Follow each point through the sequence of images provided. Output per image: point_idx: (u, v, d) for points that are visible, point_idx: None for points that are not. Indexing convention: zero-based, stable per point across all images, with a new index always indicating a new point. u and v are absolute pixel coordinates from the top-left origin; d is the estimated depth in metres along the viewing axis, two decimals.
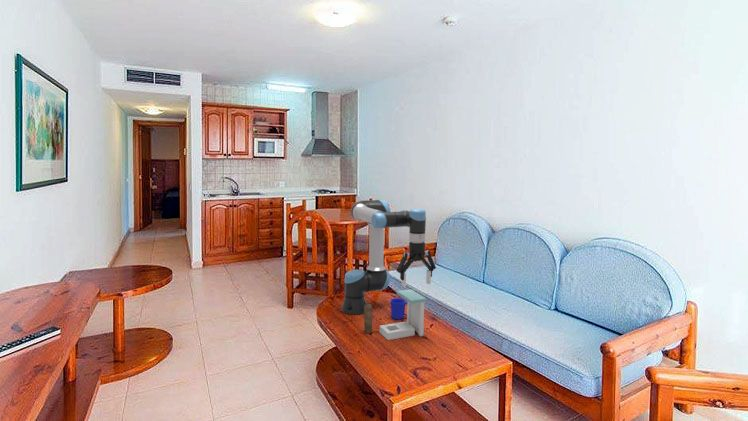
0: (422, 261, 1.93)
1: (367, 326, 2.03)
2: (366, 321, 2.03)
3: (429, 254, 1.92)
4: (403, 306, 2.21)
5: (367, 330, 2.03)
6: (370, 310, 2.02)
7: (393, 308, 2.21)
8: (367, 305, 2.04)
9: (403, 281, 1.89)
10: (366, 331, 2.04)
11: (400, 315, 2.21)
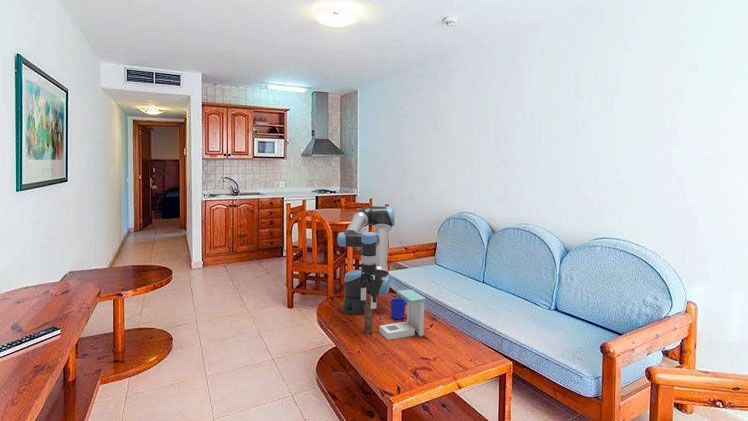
0: None
1: (367, 326, 2.03)
2: (366, 321, 2.03)
3: (371, 279, 1.96)
4: (403, 306, 2.21)
5: (367, 330, 2.03)
6: (370, 310, 2.02)
7: (393, 308, 2.21)
8: (367, 305, 2.04)
9: None
10: (366, 331, 2.04)
11: (400, 315, 2.21)
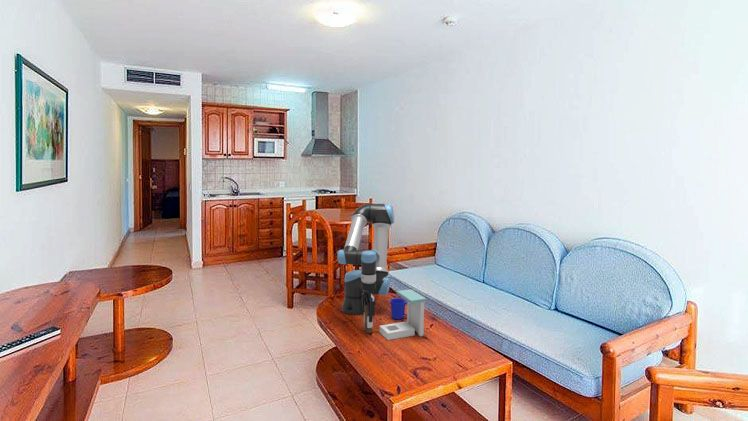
0: None
1: None
2: (366, 321, 2.03)
3: (370, 300, 1.98)
4: (403, 306, 2.21)
5: (367, 330, 2.03)
6: None
7: (393, 308, 2.21)
8: (367, 305, 2.04)
9: None
10: (366, 331, 2.04)
11: (400, 315, 2.21)
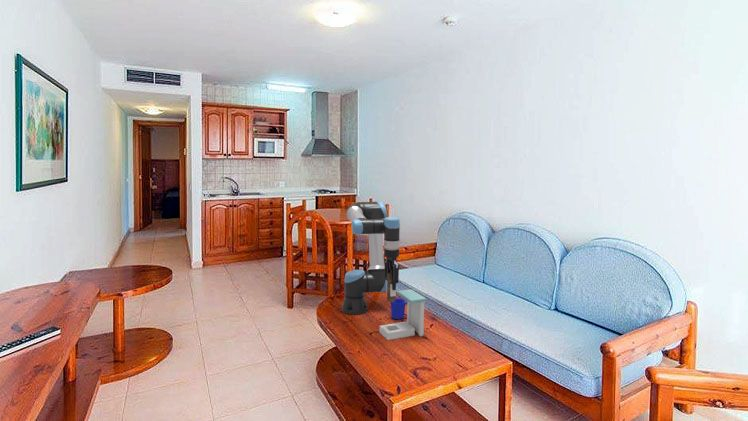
0: None
1: None
2: (389, 289, 1.97)
3: (394, 267, 1.92)
4: (403, 306, 2.21)
5: (390, 299, 1.98)
6: None
7: (393, 308, 2.21)
8: (390, 273, 1.98)
9: None
10: (389, 300, 1.98)
11: (400, 315, 2.21)
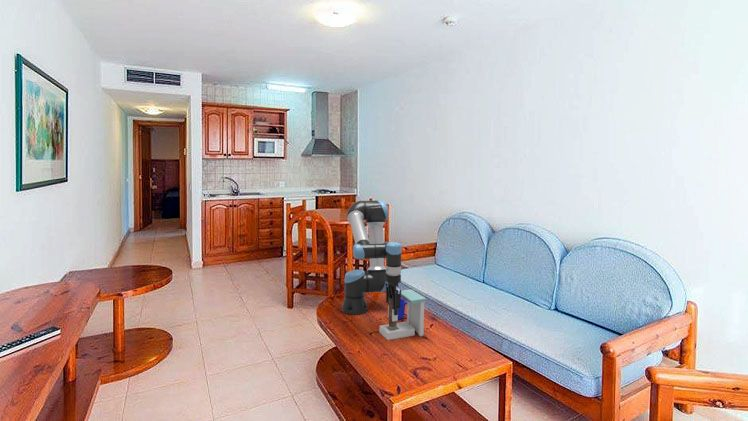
0: None
1: None
2: (391, 314, 1.99)
3: (396, 293, 1.94)
4: (403, 306, 2.21)
5: (391, 323, 1.99)
6: None
7: None
8: None
9: None
10: (391, 325, 1.99)
11: (400, 315, 2.21)
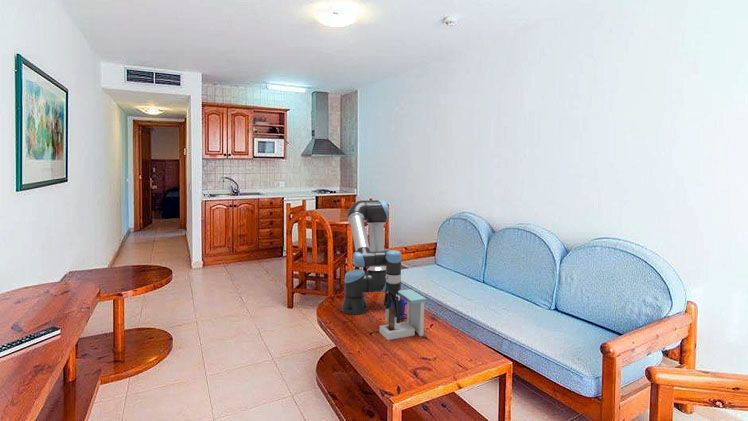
0: None
1: (392, 329, 2.00)
2: (391, 324, 2.00)
3: (396, 299, 1.94)
4: (403, 306, 2.21)
5: None
6: None
7: None
8: (391, 308, 2.00)
9: None
10: None
11: None
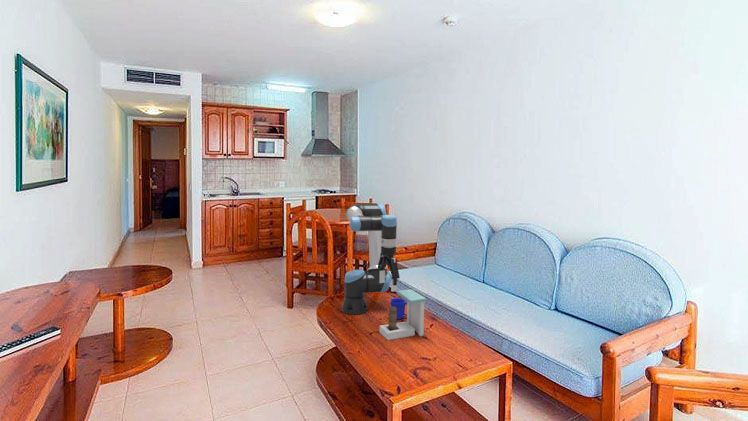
0: None
1: (392, 329, 2.00)
2: (391, 324, 2.00)
3: (391, 262, 1.95)
4: (403, 306, 2.21)
5: None
6: (395, 313, 1.99)
7: None
8: (391, 308, 2.00)
9: None
10: None
11: (400, 315, 2.21)
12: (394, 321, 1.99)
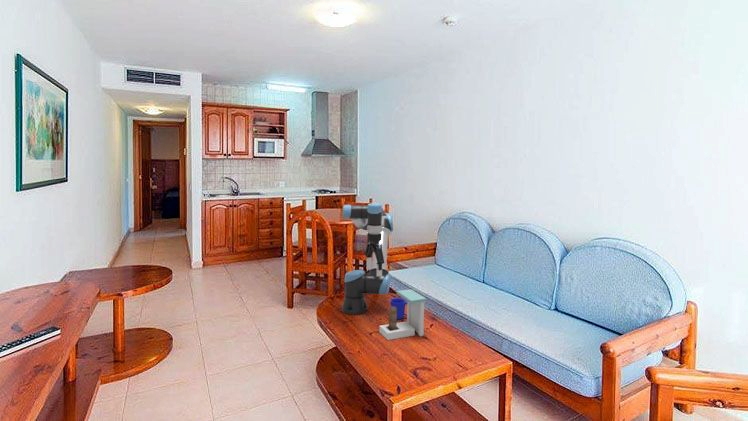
0: None
1: (392, 329, 2.00)
2: (391, 324, 2.00)
3: (377, 247, 2.03)
4: (403, 306, 2.21)
5: None
6: (395, 313, 1.99)
7: None
8: (392, 308, 2.00)
9: None
10: None
11: (400, 315, 2.21)
12: (394, 321, 1.99)
